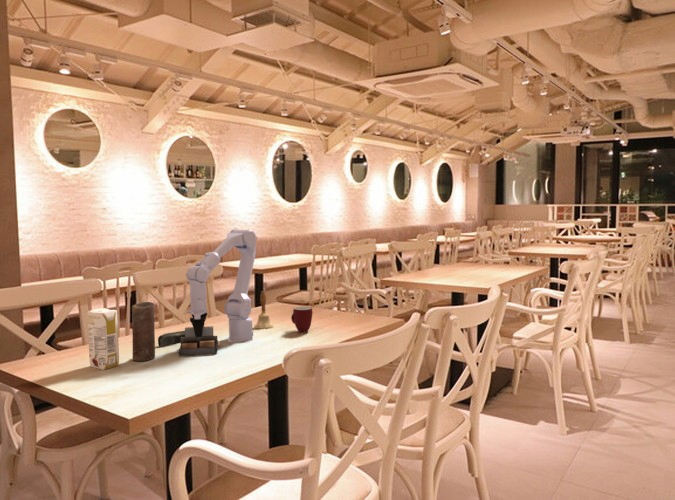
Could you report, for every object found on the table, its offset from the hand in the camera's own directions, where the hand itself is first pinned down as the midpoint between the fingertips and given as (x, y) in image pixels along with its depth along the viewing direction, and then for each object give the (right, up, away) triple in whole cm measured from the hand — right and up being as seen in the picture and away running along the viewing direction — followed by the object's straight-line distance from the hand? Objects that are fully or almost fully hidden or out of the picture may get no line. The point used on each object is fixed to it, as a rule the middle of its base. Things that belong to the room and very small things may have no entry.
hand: (199, 334), depth 197 cm
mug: (+35, -3, +30) cm, 46 cm away
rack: (+1, -6, -2) cm, 7 cm away
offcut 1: (-2, -6, -6) cm, 8 cm away
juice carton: (-27, -8, -18) cm, 33 cm away
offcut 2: (+4, -6, -5) cm, 8 cm away
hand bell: (+18, -3, +39) cm, 43 cm away
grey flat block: (0, -5, 0) cm, 5 cm away
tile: (-1, -5, +8) cm, 10 cm away
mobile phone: (-12, -6, +9) cm, 16 cm away
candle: (-16, -7, -12) cm, 21 cm away
